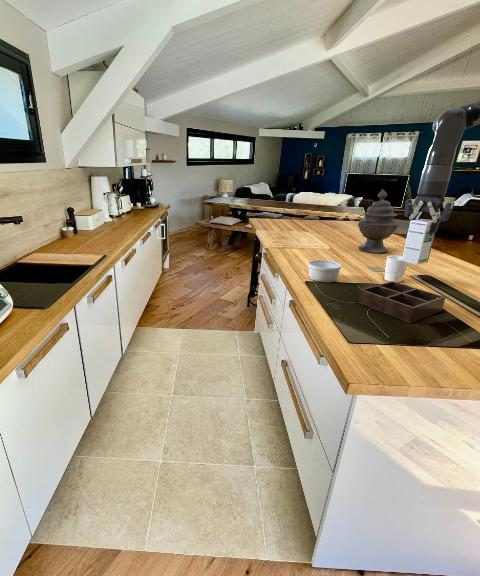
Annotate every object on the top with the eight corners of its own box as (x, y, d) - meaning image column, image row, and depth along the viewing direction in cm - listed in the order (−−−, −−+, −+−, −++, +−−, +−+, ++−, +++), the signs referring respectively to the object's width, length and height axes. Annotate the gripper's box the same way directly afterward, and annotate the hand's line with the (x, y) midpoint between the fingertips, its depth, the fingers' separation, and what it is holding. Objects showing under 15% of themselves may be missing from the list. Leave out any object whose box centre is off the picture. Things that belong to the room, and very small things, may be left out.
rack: (441, 311, 107) (446, 297, 105) (409, 323, 99) (413, 308, 97) (388, 293, 122) (391, 280, 120) (357, 302, 114) (360, 289, 112)
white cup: (381, 276, 141) (386, 254, 138) (402, 278, 138) (407, 256, 134) (383, 281, 135) (388, 259, 131) (404, 284, 131) (410, 261, 128)
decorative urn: (395, 255, 170) (404, 188, 160) (353, 253, 180) (360, 190, 170) (394, 249, 186) (402, 187, 176) (356, 248, 196) (362, 189, 186)
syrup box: (417, 265, 106) (428, 222, 101) (400, 260, 111) (410, 219, 106) (427, 262, 108) (439, 220, 103) (410, 258, 114) (421, 218, 108)
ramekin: (327, 273, 146) (330, 258, 144) (345, 282, 134) (348, 267, 131) (301, 275, 144) (303, 260, 142) (316, 284, 132) (319, 269, 129)
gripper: (467, 180, 96) (451, 234, 102) (417, 178, 108) (406, 227, 114) (454, 180, 93) (438, 237, 99) (404, 179, 105) (393, 229, 111)
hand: (421, 231), depth 106 cm, fingers closed on syrup box, 6 cm apart
